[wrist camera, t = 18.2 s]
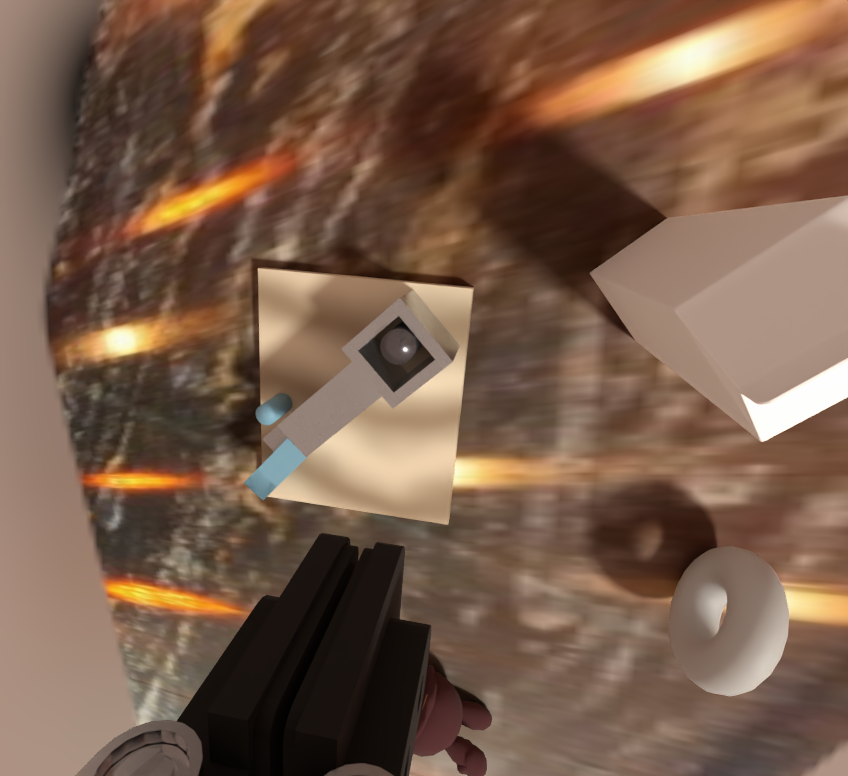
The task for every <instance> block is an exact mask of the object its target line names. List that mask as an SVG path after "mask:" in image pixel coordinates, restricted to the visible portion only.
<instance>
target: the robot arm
mask: <svg viewBox="0 0 848 776" xmlns="http://www.w3.org/2000/svg"><path fill="white" fill-rule="evenodd" d="M404 556H405V548H404V546H398V545H392V544H386V543H380V542H377V543H376V544H375V546H374V548H373V549H369V548H365V549H364V550H363V552H362V554H361V557H360V559H359V561H358V547H357V546H351V545H350V539H349V538H348V537H343V536H337V535H331V534H325V533H321V534H320V535H319V536H318V538H317V539H316V541H315V542H314V544H313V546H312V547H311V549H310V550H309V552H308V553H307V555H306V557H305V558H304V560H303V561H302V563H301V564H300V566H299V568H298V569H297V571H296V572H295V574H294V575H293V577H292V579H291V580H290V582H289V583H288V585H287V586H286V588H285V590H284V591H283V593H282V594H281V596H280V597H274V596H269V595H266V596H264V597H262V599H261V600H260V601H259V602H258V603H257V605H256V606H255V608H254V609H253V611H252V612H251V613H250V615H249V616H248V618H247V619H246V621H245V622H244V624H243V625H242V627H241V628H240V630H239V631H238V632H237V634H236V635H235V637H234V638H233V640H232V641H231V643H230V644H229V646H228V647H227V649H226V650H225V651H224V653H223V654H222V656H221V657H220V659H219V660H218V662H217V663H216V665H215V666H214V668H213V669H212V670H211V672H210V673H209V675H208V676H207V678H206V679H205V681H204V682H203V684H202V685H201V687H200V688H199V689H198V691H197V692H196V694H195V695H194V697H193V698H192V700H191V701H190V703H189V704H188V706H187V707H186V708H185V710H184V711H183V713H182V714H181V716H180V717H179V719H178V720H177V722H176V721H171V720H161V721H151V722H148V723H145V724H142V725H139V726H136V727H133V728H131V729H129V730H128V731H126V732H124V733H122V734H121V735H119V736H117V737H116V738H114V739H113V740H112V741H110V742H109V743H108V744H107V745H106V746H105V747H103V748H102V749H101V750H100V751H99V752H98V753H97V754H96V755H95V756H94V757H93V758H92V759H91V760H90V761H89V762H88V763H87V764H86V765H85V766H84V767H83V768H82V769H81V770H80V771H79V772H78V773H77V774H76V775H75V776H409V771H410V766H411V760H412V755H413V749H414V744H415V739H416V733H417V728H418V722H419V717H420V711H421V706H422V700H423V694H424V687H425V681H426V673H427V666H428V657H429V648H430V638H431V625H427V624H422V623H416V622H411V621H405V620H400V608H401V595H402V582H403V569H404Z"/></svg>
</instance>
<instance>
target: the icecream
mask: <svg viewBox="0 0 848 776" xmlns="http://www.w3.org/2000/svg"><path fill="white" fill-rule="evenodd" d="M491 722H492V716H491V714H490V712H489V710H487V709H486V708H485V707H483V706H482V705H480V704H479V703H477V702H472V701H467V700H462V701H461V700H460V697H459V694H458V693H457V691H456V690H455V688H454V687H453V685H452V684H451V683H450V682H449V681H448V680H447V679H446V678H445V677H444V676H443V675H442V674H441V673H440V672H436V671H435V668H434V665H428V666H427V673H426V681H425V687H424V694H423V700H422V706H421V711H420V717H419V722H418V728H417V733H416V739H415V744H414V749H413V754H416V755H419V756H431V755H435V754H436V753H438V752H440V751H442V750H444V749H445V750H446V751H447V753H448V754H449V756H450V757H451V759H452V760H453V761H454V762H455V763H456V764H457V769H458V771H459V773H461V774H467V775H468V776H484V775H485V774H486V770H487V760H486V758H485V755H484V753H483V752H482V751H481V750H480V749H479V748H478V747H477V746H475V745H473V744H472V743H471V742H470V741H469V740H467V739H464V738H463V737H460V736H457V735H458V733H459V731H460V727H461V724H462V725H464V726H466V727H468V728H470V729H473V730H484V729H486V728H488V727H489V726H490V725H491Z"/></svg>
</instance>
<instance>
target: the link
mask: <svg viewBox="0 0 848 776" xmlns="http://www.w3.org/2000/svg"><path fill="white" fill-rule="evenodd" d="M399 317H400V318H401V319H402V320H403V321H404V323H405V324H406V325H407V326H408V327H409V329H410V330H411V331H412V332H413V333H414V335H415V336H416V337H417V338H418V339H419V341H420V342H421V343H422V344H423V345H424V347H425V348H426V349H427V350H428V351H429V353H430V354H431V355H430V356H429V357H428V358H427V359H425V360H424V361H423V362H422V363H420V364H419V365H418V366H417V367H415V368H414V369H413V370H412V371H410V372H409V373H407V372H406V370H405V369H404V368H403V367H402V366H401V364H400V365H396V364H392V363H390V362H388V361H387V360H386V359H385V358H384V357H383V355H382V353H381V349H380V344H381V341H380V340H379V338H378V337H377V336H378V335H379V334H380V333H381V332H383V331H384V330H385V329H386V328H387V327H389V326H390V325H391V324H392V323H393V322H394V321H396V320H397V319H398V318H399ZM459 347H460V345H459V344H458V343H457V341H456V340H455V339H454V338H453V337H452V335H451V334H450V333H449V332H448V330H447V329H446V328H445V327H444V326H443V324H442V323H441V322H440V321H439V320H438V318H437V317H436V316H435V315H434V313H433V312H432V311H431V310H430V309H429V307H428V306H427V305H426V304H425V302H424V301H423V300H422V299H421V298H420V296H419V295H418V294H417V293H416V292H415V290H413V291H411V292H409V293H407V294H406V295H404V296H402V297H400V298H399V299H398V300H397V301H395V302H394V303H393V304H392V305H391V306H390V307H389V308H387V309H386V310H385V311H384V312H383V313H382V314H381V315H379V316H378V317H377V318H376V319H375V320H374V321H372V322H371V323H370V324H369V325H368V326H367V327H366V328H364V329H363V330H362V331H361V332H360V333H359V334H358V335H356V336H355V337H354V338H353V339H352V340H351V341H350V342H348V343H347V344H346V345H345V346H344V347H343V348H341V349H342V350H343V352H344V353H345V354H346V355H347V356H348V357H349V359H350V360H351V361H352V362H351V363H350V364H349V365H348V366H347V367H345V368H344V369H343V370H342V371H341V372H340V373H338V374H337V375H336V376H335V377H334V378H332V379H331V380H330V381H329V382H328V383H327V384H325V385H324V386H323V387H322V388H321V389H320V390H318V391H317V392H316V393H315V394H314V395H313V396H311V397H310V398H309V399H308V400H307V401H305V402H304V403H303V404H302V405H301V406H300V407H298V408H297V409H296V410H295V411H294V412H293V413H291V414H290V415H289V416H288V417H287V418H285V419H284V420H283V421H282V422H281V423H280V424H278V425H277V427H276V428H275V429H273V430H272V431H271V432H270V433H269V434H268V435H266V436H265V437H264V438H263V441H264V442H265V443H266V444H267V445H268V446H269V447H270V448H271V449H272V450H273V452H275V451H276V450H277V449H278V447H279V446H280V445H281V444H282V443H283V442H284V441H285V440H286V439H287V438H289V439H290V440H291V441H292V443H293V444H294V445H295V446H296V447H297V448H298V449H299V450H300V451H301V453H302V454H303V455H304V456H305V457H307V456H308V455H310V454H311V453H312V452H313V451H315V450H316V449H317V448H318V447H320V446H321V445H322V444H323V443H325V442H326V441H327V440H328V439H329V438H331V437H332V436H333V435H334V434H336V433H337V432H338V431H339V430H341V429H342V428H343V427H344V426H346V425H347V424H348V423H349V422H351V421H352V420H353V419H354V418H356V417H357V416H358V415H359V414H361V413H362V412H363V411H364V410H366V409H367V408H368V407H369V406H371V405H372V404H373V403H374V402H376V401H377V400H378V399H379V398H381V397H383V398H384V399H385V400H386V402H387V403H388V404H389V405H390V406H391V407H392V409H393V408H395V407H396V406H397V405H398V404H400V403H401V402H402V401H404V400H405V399H406V398H407V397H409V396H410V395H411V394H412V393H414V392H415V391H416V390H418V389H419V388H420V387H421V386H423V385H424V384H425V383H426V382H428V381H429V380H430V379H432V378H433V377H434V376H435V375H437V374H438V373H439V372H440V371H442V370H443V369H444V368H446V367H447V366H448V365H449V364H451V363H452V362H453V360H454V358H455V356H456V354H457V351H458V349H459Z"/></svg>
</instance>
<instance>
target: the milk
mask: <svg viewBox="0 0 848 776" xmlns="http://www.w3.org/2000/svg"><path fill="white" fill-rule="evenodd" d="M590 275H591V277H592V278H593V280H594V281H595V282H596V284H597V285H598V287H599V288H600V290H601V291H602V293H603V294H604V296H605V297H606V299H607V300H608V301H609V303H610V304H611V306H612V307H613V309H614V310H615V312H616V313H617V315H618V316H619V318H620V319H621V320H622V322H623V323H624V325H625V326H626V328H627V329H628V331H629V332H630V334H631V335H632V336H633V338H634V339H635V341H636V342H638V343H639V344H640V345H641V346H643V347H644V348H645V349H646V350H648V351H649V352H650V353H651V354H653V355H654V356H655V357H656V358H658V359H659V360H660V361H661V362H663V363H664V364H665V365H666V366H668V367H669V368H670V369H671V370H673V371H674V372H675V373H676V374H677V375H679V376H680V377H681V378H682V379H684V380H685V381H686V382H687V383H689V384H690V385H691V386H692V387H694V388H695V389H696V390H697V391H699V392H700V393H701V394H702V395H704V396H705V397H706V398H707V399H709V400H710V401H711V402H712V403H714V404H715V405H716V406H717V407H719V408H720V409H721V410H722V411H724V412H725V413H726V414H727V415H728V416H730V417H731V418H732V419H733V420H735V421H736V422H737V423H738V424H740V425H741V426H742V427H743V428H745V429H746V430H747V431H748V432H750V433H751V434H752V435H753V436H755V437H756V438H757V439H758V440H760V441H761V442H763V441H766V440H768V439H770V438H771V437H773V436H775V435H777V434H779V433H781V432H783V431H785V430H787V429H788V428H790V427H792V426H794V425H796V424H798V423H800V422H802V421H804V420H805V419H807V418H809V417H811V416H813V415H815V414H817V413H819V412H821V411H822V410H824V409H826V408H828V407H830V406H832V405H834V404H836V403H838V402H839V401H841V400H843V399H845V398H847V397H848V196H841V197H833V198H825V199H817V200H809V201H801V202H793V203H785V204H776V205H768V206H760V207H752V208H744V209H736V210H728V211H720V212H712V213H704V214H696V215H688V216H680V217H672V218H667V219H665V220H664V221H662V222H661V223H660V224H658V225H657V226H655V227H654V228H652V229H651V230H650V231H648V232H647V233H645V234H644V235H642V236H641V237H640V238H638V239H637V240H635V241H634V242H633V243H631V244H630V245H628V246H627V247H625V248H624V249H623V250H621V251H620V252H618V253H617V254H615V255H614V256H613V257H611V258H610V259H608V260H607V261H605V262H604V263H603V264H601V265H600V266H598V267H597V268H596V269H594V270H593V271H591V272H590Z"/></svg>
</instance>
